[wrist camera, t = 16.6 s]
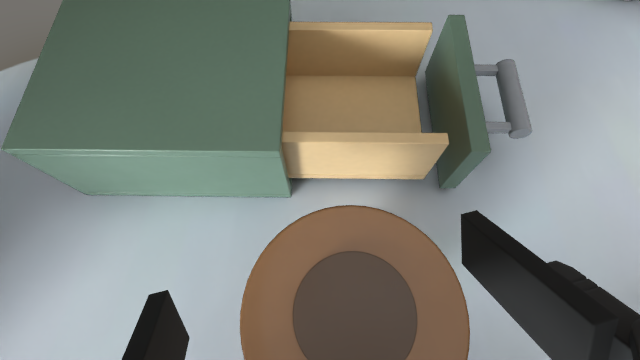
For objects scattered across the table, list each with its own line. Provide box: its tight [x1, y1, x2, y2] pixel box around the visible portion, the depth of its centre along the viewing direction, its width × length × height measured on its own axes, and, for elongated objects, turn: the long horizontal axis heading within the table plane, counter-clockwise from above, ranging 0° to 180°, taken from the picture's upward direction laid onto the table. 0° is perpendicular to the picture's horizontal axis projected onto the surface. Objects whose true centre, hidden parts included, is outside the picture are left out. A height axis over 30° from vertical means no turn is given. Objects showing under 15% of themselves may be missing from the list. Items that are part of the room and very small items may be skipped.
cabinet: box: [1, 0, 292, 197], centre depth 26 cm, size 16×12×8 cm
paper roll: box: [240, 205, 470, 360], centre depth 16 cm, size 6×6×16 cm
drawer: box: [281, 15, 532, 188], centre depth 26 cm, size 20×11×6 cm, turn 89°
